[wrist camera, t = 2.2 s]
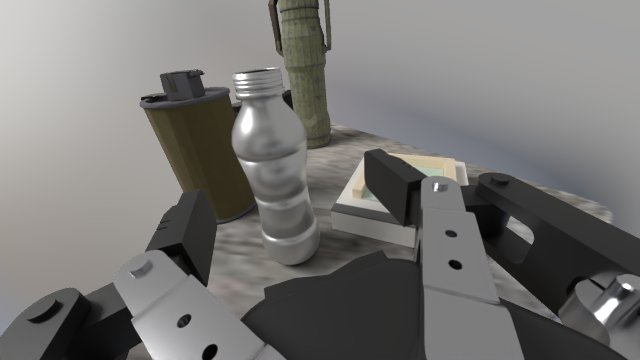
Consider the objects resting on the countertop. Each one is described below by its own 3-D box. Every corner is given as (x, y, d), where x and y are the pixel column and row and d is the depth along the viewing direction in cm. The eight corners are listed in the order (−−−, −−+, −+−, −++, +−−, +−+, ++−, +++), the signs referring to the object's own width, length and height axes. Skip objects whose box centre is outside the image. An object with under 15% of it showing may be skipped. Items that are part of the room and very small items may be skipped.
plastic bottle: (327, 265, 26) (306, 68, 15) (267, 280, 25) (201, 81, 14) (316, 227, 31) (294, 63, 21) (266, 238, 30) (218, 72, 20)
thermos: (294, 137, 63) (268, -32, 45) (337, 135, 61) (328, -41, 43) (287, 150, 55) (252, -47, 37) (335, 148, 54) (323, -59, 36)
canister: (266, 185, 42) (236, 64, 31) (245, 224, 33) (194, 72, 23) (211, 187, 43) (164, 71, 33) (176, 225, 34) (98, 82, 24)
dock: (471, 261, 24) (483, 230, 22) (332, 228, 30) (329, 201, 28) (460, 178, 38) (466, 153, 36) (365, 167, 44) (365, 145, 42)
